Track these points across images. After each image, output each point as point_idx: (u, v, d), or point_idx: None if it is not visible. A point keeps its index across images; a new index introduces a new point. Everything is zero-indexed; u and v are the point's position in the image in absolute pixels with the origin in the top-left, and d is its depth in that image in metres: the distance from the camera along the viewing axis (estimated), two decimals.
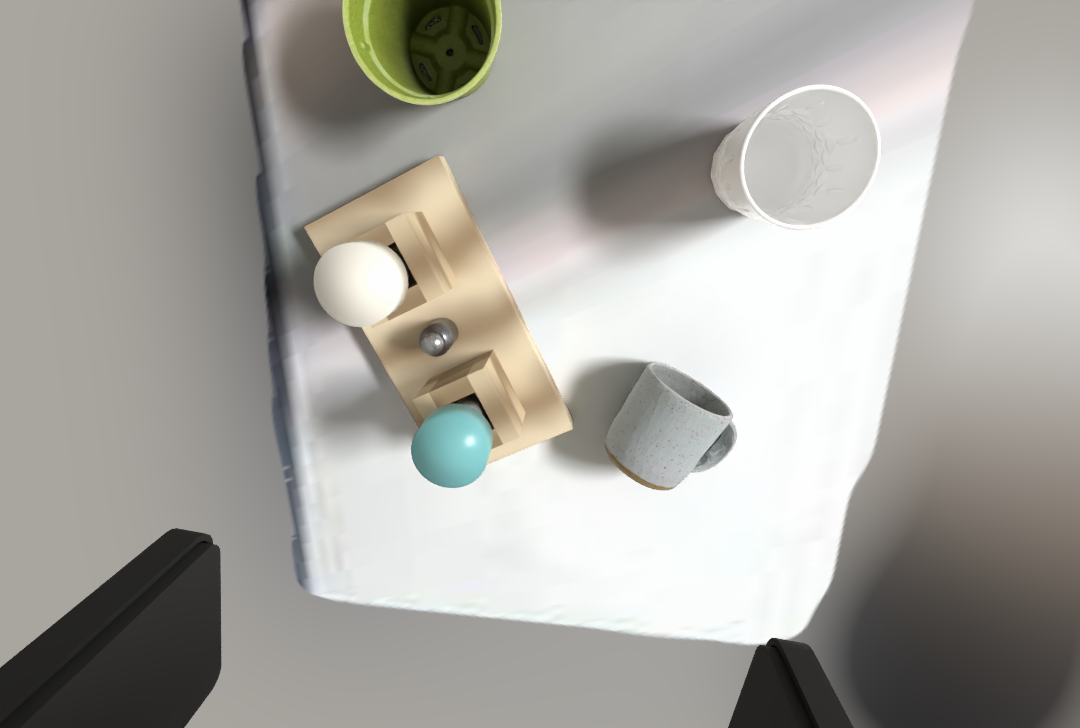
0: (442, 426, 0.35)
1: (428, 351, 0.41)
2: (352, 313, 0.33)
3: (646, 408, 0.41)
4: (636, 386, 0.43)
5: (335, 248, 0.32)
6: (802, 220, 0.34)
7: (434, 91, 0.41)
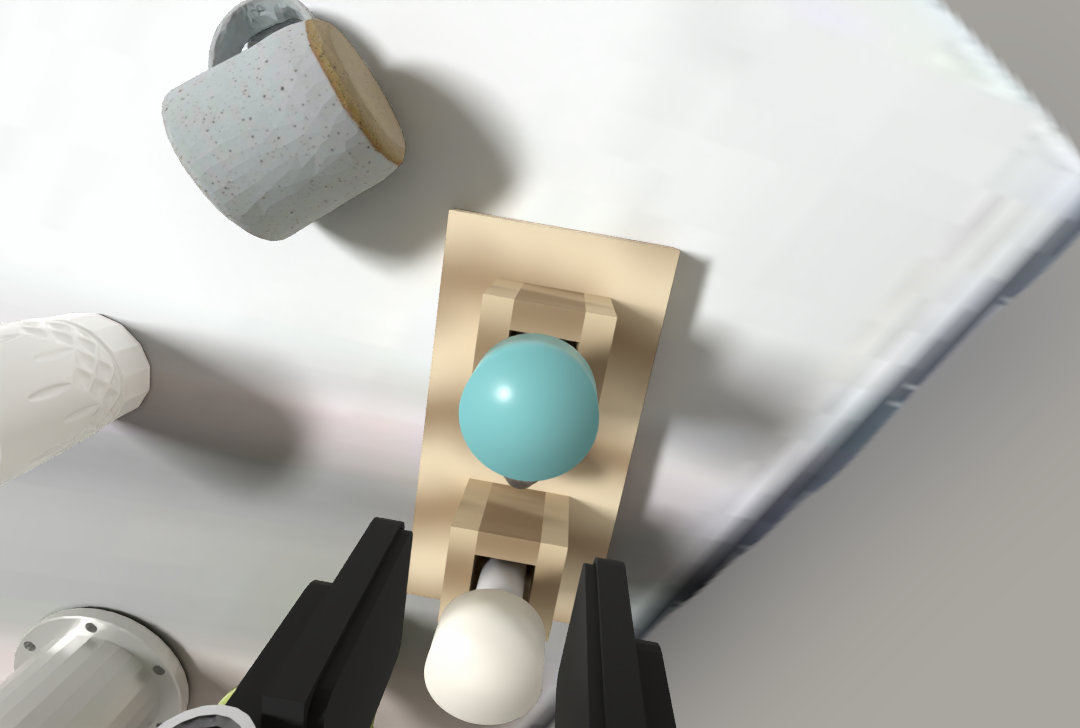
0: (506, 462, 0.20)
1: None
2: (511, 658, 0.23)
3: (279, 202, 0.24)
4: (305, 224, 0.27)
5: (473, 721, 0.24)
6: None
7: None
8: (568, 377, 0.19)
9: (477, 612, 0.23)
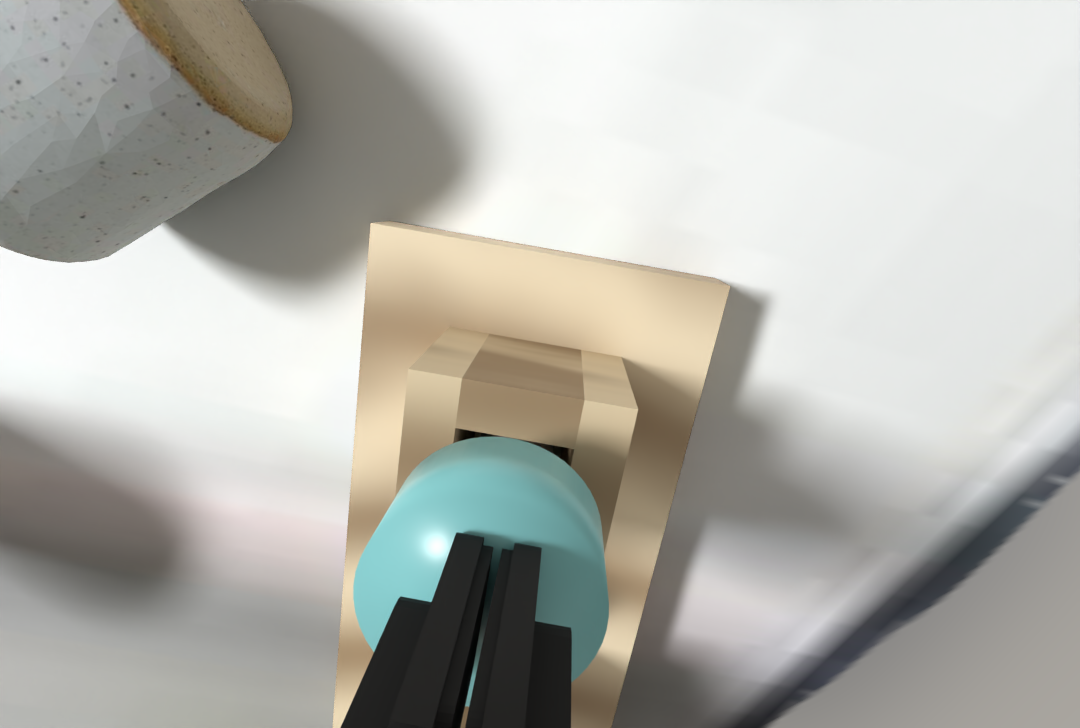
0: None
1: None
2: None
3: (49, 199, 0.14)
4: (126, 235, 0.17)
5: None
6: None
7: None
8: (552, 540, 0.10)
9: None
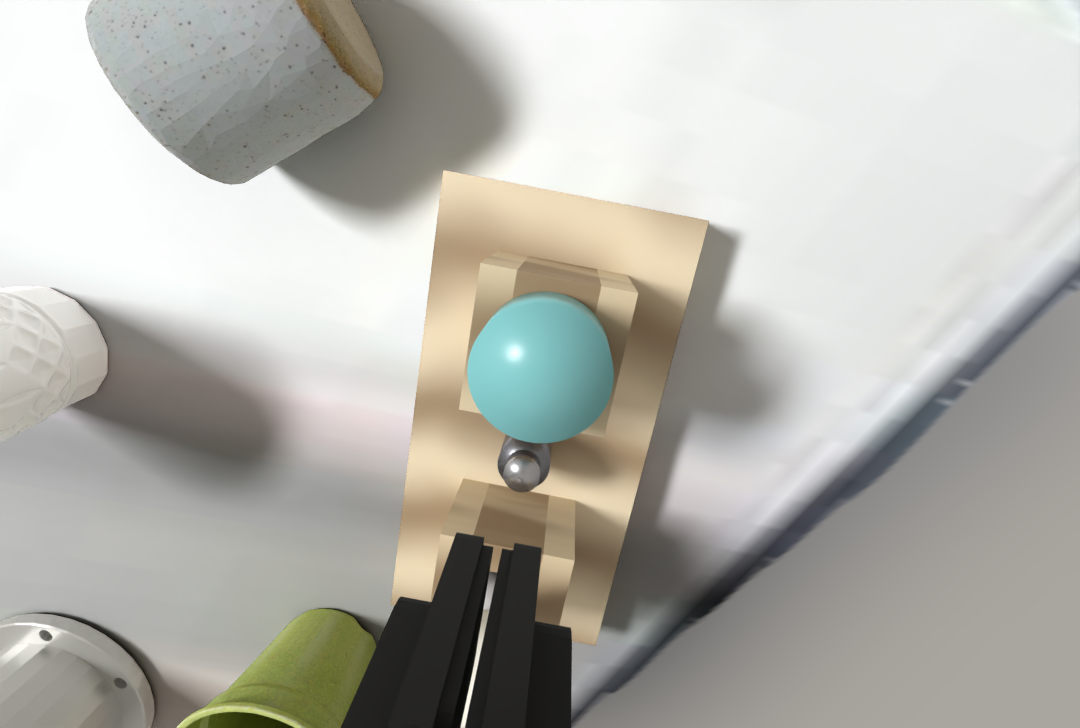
0: (516, 422, 0.19)
1: (532, 471, 0.24)
2: None
3: (228, 132, 0.20)
4: (264, 165, 0.23)
5: None
6: None
7: None
8: (582, 333, 0.18)
9: None
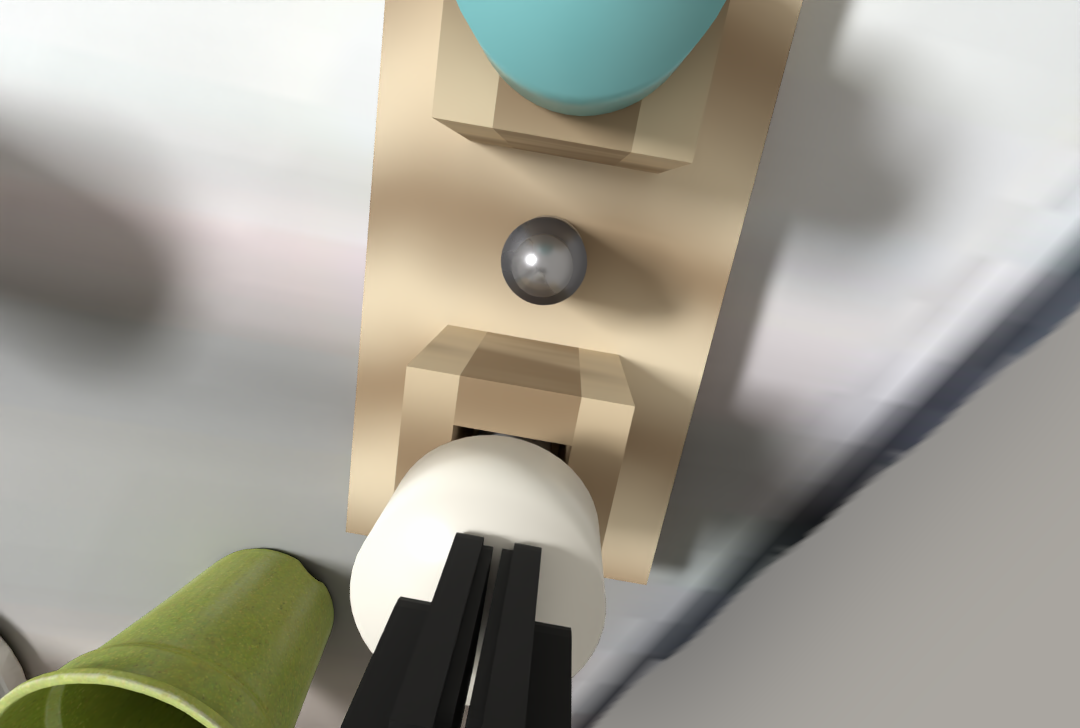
0: (542, 46, 0.09)
1: (561, 256, 0.14)
2: None
3: None
4: None
5: None
6: None
7: None
8: None
9: (464, 466, 0.11)
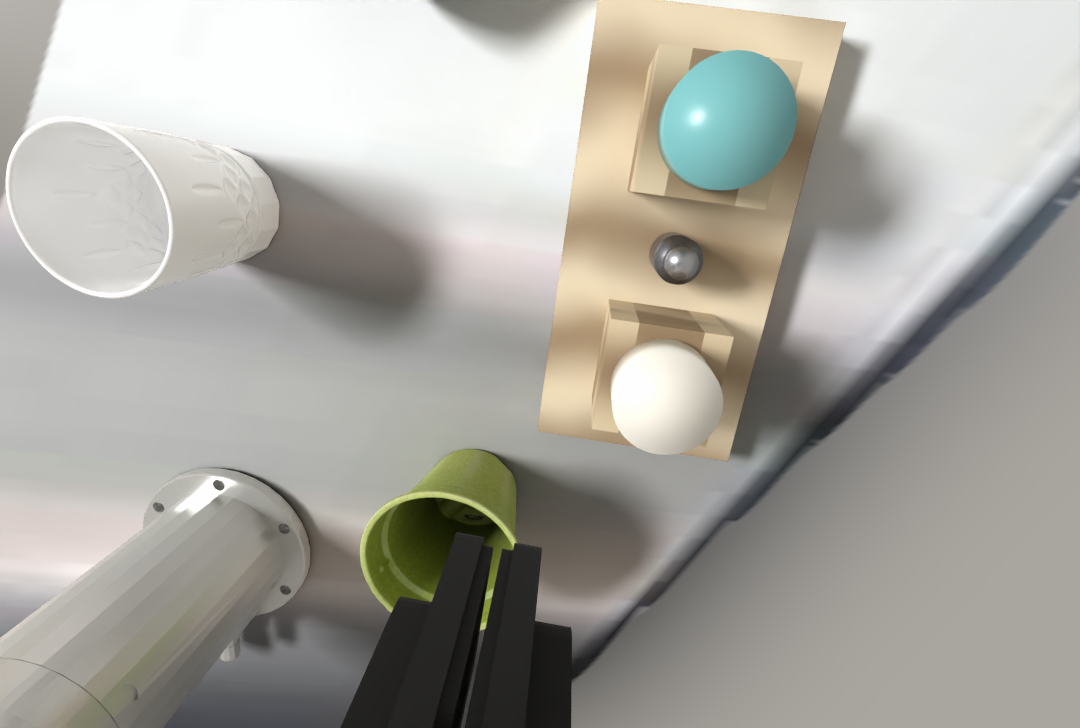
0: (706, 171, 0.22)
1: (693, 258, 0.27)
2: (695, 381, 0.25)
3: None
4: None
5: (654, 451, 0.26)
6: None
7: None
8: (770, 76, 0.21)
9: (658, 347, 0.25)
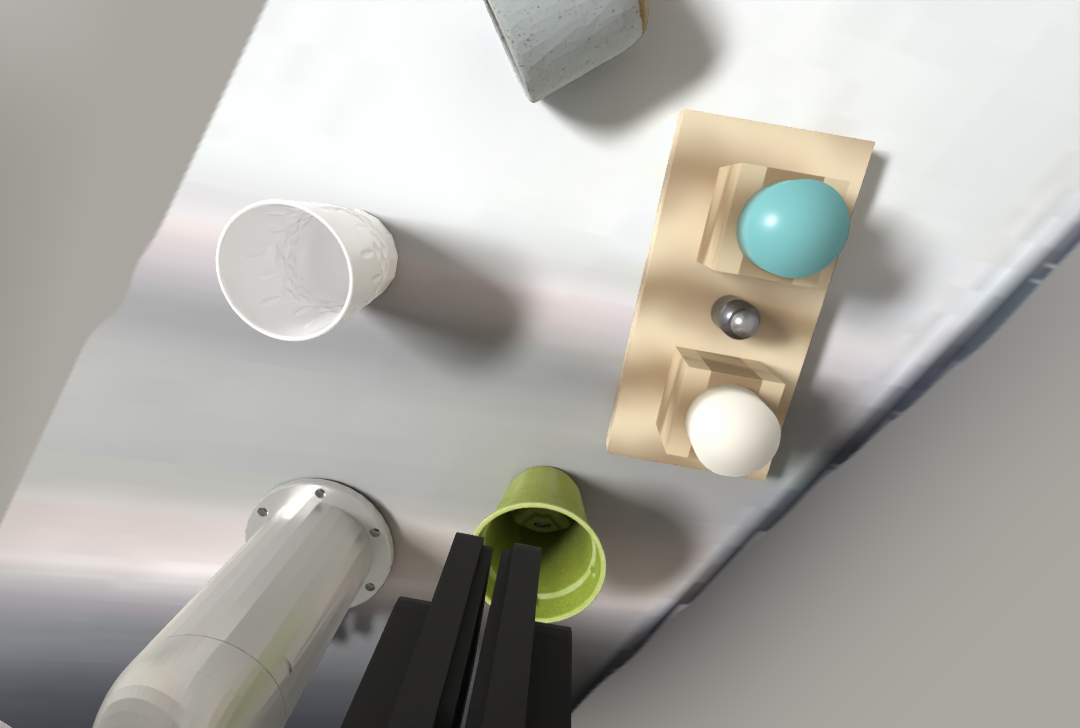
0: (779, 263, 0.29)
1: (754, 320, 0.34)
2: (760, 419, 0.32)
3: (559, 57, 0.30)
4: (559, 87, 0.33)
5: (724, 473, 0.33)
6: None
7: None
8: (831, 198, 0.28)
9: (730, 392, 0.32)
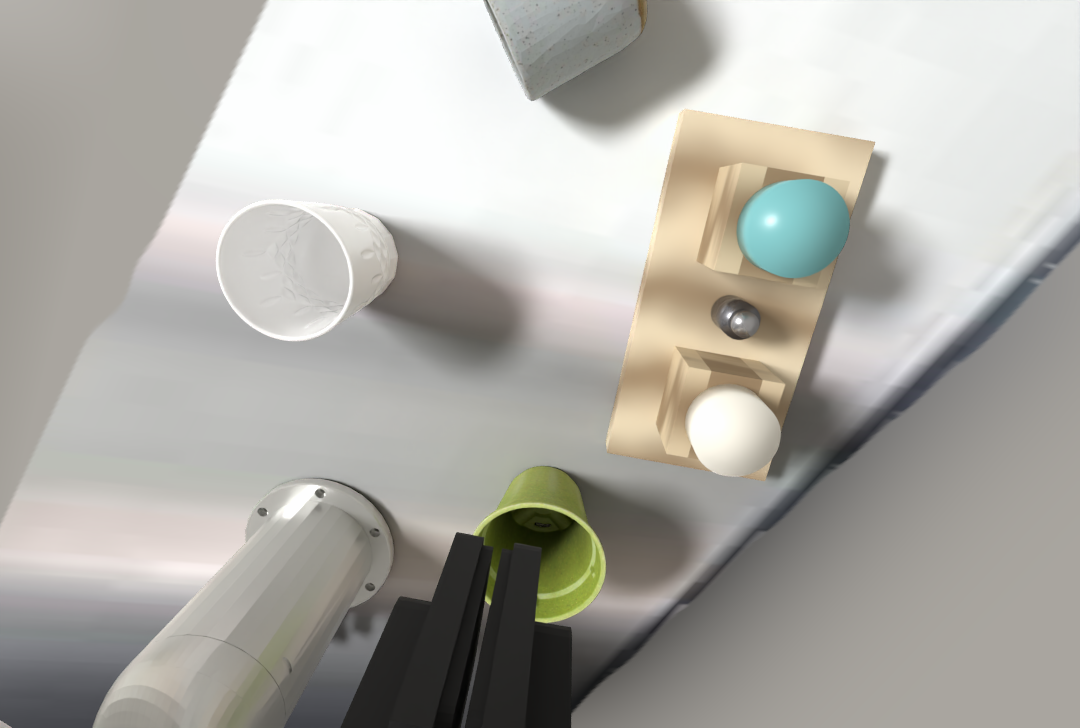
0: (779, 263, 0.29)
1: (754, 321, 0.34)
2: (760, 419, 0.32)
3: (558, 55, 0.30)
4: (558, 85, 0.33)
5: (724, 473, 0.33)
6: None
7: None
8: (831, 198, 0.28)
9: (730, 392, 0.32)
